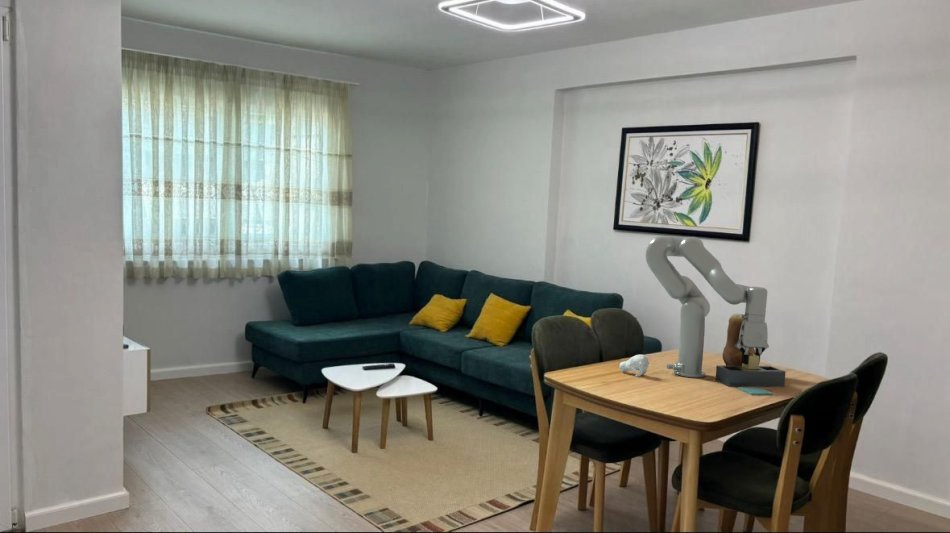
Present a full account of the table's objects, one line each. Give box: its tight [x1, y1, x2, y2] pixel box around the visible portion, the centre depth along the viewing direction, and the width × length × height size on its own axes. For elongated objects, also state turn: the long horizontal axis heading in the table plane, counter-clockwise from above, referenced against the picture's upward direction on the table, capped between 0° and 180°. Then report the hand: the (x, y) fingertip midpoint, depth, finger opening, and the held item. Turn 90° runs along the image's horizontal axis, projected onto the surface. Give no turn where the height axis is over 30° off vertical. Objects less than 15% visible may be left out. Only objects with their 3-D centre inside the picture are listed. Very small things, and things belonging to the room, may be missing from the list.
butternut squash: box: [722, 312, 755, 366], centre depth 304 cm, size 14×13×25 cm
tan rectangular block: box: [742, 353, 760, 370], centre depth 285 cm, size 4×4×11 cm
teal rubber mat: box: [737, 387, 774, 396], centre depth 272 cm, size 9×9×1 cm
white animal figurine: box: [619, 354, 650, 378], centre depth 291 cm, size 6×8×12 cm
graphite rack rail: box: [715, 365, 787, 388], centre depth 285 cm, size 24×10×6 cm, turn 102°
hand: (750, 363), depth 285 cm, fingers closed on tan rectangular block, 4 cm apart
